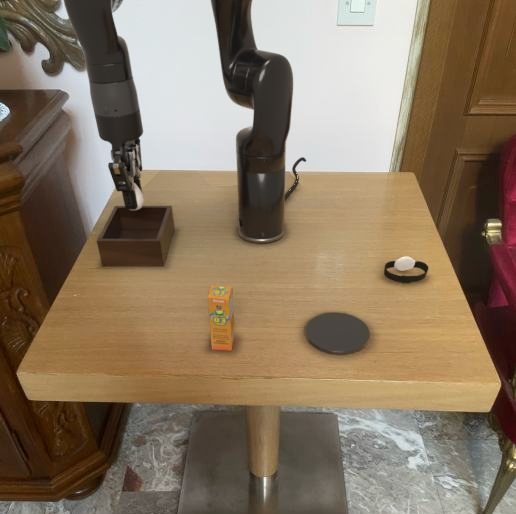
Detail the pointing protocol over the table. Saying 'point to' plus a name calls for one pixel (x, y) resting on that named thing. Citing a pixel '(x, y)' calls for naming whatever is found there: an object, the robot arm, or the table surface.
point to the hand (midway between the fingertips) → (134, 202)
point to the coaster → (337, 333)
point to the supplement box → (221, 317)
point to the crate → (136, 236)
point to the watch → (404, 265)
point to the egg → (138, 197)
